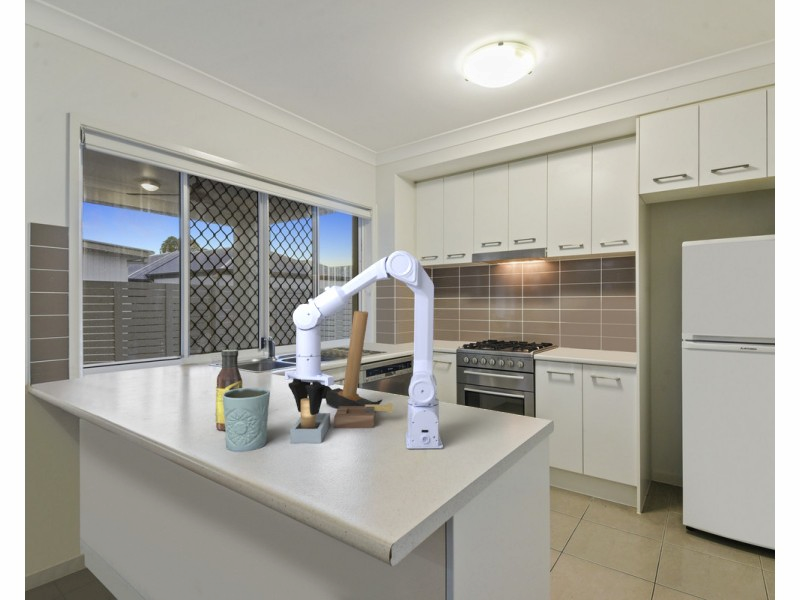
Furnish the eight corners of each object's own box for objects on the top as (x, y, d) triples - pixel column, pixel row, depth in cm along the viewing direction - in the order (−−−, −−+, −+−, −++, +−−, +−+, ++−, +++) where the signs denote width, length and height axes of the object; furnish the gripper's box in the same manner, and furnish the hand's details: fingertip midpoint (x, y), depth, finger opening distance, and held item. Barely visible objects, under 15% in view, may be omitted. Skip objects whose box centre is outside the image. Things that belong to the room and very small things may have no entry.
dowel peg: (318, 429, 98) (318, 400, 98) (304, 432, 96) (304, 402, 96) (312, 425, 101) (312, 397, 101) (298, 428, 99) (298, 399, 99)
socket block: (373, 427, 106) (373, 411, 106) (334, 428, 106) (334, 411, 106) (375, 416, 116) (375, 401, 116) (339, 416, 116) (339, 401, 116)
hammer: (379, 418, 122) (395, 318, 119) (368, 423, 118) (384, 319, 115) (330, 397, 133) (343, 305, 130) (318, 400, 129) (331, 305, 126)
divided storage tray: (320, 443, 95) (320, 429, 95) (290, 443, 95) (290, 430, 95) (330, 424, 109) (330, 413, 109) (303, 424, 109) (303, 413, 109)
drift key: (392, 412, 110) (392, 405, 110) (364, 412, 110) (364, 406, 110) (392, 409, 113) (392, 402, 113) (365, 409, 113) (365, 403, 113)
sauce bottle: (232, 432, 103) (232, 352, 103) (210, 430, 104) (209, 351, 104) (247, 424, 109) (247, 348, 109) (226, 423, 110) (225, 348, 110)
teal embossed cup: (254, 434, 101) (254, 385, 101) (279, 444, 95) (279, 391, 94) (213, 446, 93) (213, 392, 93) (237, 457, 87) (237, 399, 87)
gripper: (342, 355, 98) (342, 413, 98) (300, 351, 106) (300, 404, 106) (321, 359, 92) (321, 420, 92) (277, 354, 100) (277, 410, 100)
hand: (308, 412), depth 99 cm, fingers closed on dowel peg, 4 cm apart
